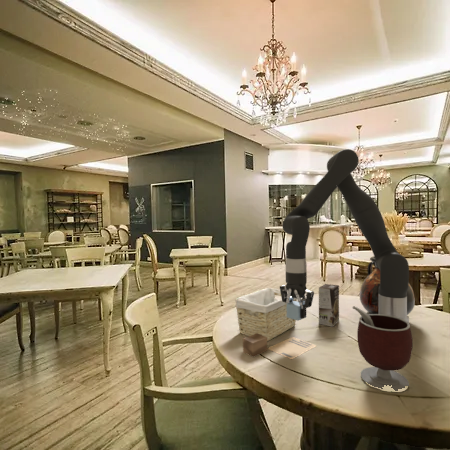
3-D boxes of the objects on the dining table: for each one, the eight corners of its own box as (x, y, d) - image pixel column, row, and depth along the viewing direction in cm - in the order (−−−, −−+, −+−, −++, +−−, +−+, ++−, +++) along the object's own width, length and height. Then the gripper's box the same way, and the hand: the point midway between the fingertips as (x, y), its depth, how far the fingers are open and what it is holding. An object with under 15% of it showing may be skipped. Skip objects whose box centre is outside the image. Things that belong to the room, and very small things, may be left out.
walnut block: (267, 351, 106) (267, 337, 106) (253, 357, 101) (252, 343, 101) (257, 346, 110) (257, 333, 109) (243, 352, 105) (242, 338, 105)
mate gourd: (416, 378, 86) (416, 310, 86) (406, 401, 76) (406, 324, 75) (360, 361, 97) (360, 300, 96) (345, 379, 86) (344, 311, 86)
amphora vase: (426, 324, 126) (427, 259, 125) (390, 333, 118) (389, 263, 117) (383, 310, 146) (382, 253, 145) (349, 316, 138) (348, 256, 137)
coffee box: (333, 327, 126) (333, 289, 126) (318, 324, 130) (317, 287, 129) (339, 320, 133) (339, 285, 133) (325, 317, 137) (325, 283, 137)
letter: (317, 346, 109) (317, 345, 109) (291, 359, 99) (291, 359, 99) (292, 336, 117) (292, 336, 117) (266, 348, 107) (266, 348, 107)
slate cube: (306, 317, 109) (306, 303, 109) (297, 320, 106) (297, 306, 106) (294, 314, 113) (294, 300, 113) (286, 317, 110) (286, 303, 110)
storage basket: (266, 344, 111) (265, 305, 110) (233, 333, 122) (233, 297, 122) (299, 326, 128) (299, 292, 127) (268, 317, 139) (267, 286, 139)
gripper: (319, 271, 106) (319, 318, 107) (286, 266, 117) (287, 309, 118) (306, 274, 101) (306, 324, 102) (274, 269, 112) (274, 313, 113)
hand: (296, 315), depth 110 cm, fingers closed on slate cube, 5 cm apart
